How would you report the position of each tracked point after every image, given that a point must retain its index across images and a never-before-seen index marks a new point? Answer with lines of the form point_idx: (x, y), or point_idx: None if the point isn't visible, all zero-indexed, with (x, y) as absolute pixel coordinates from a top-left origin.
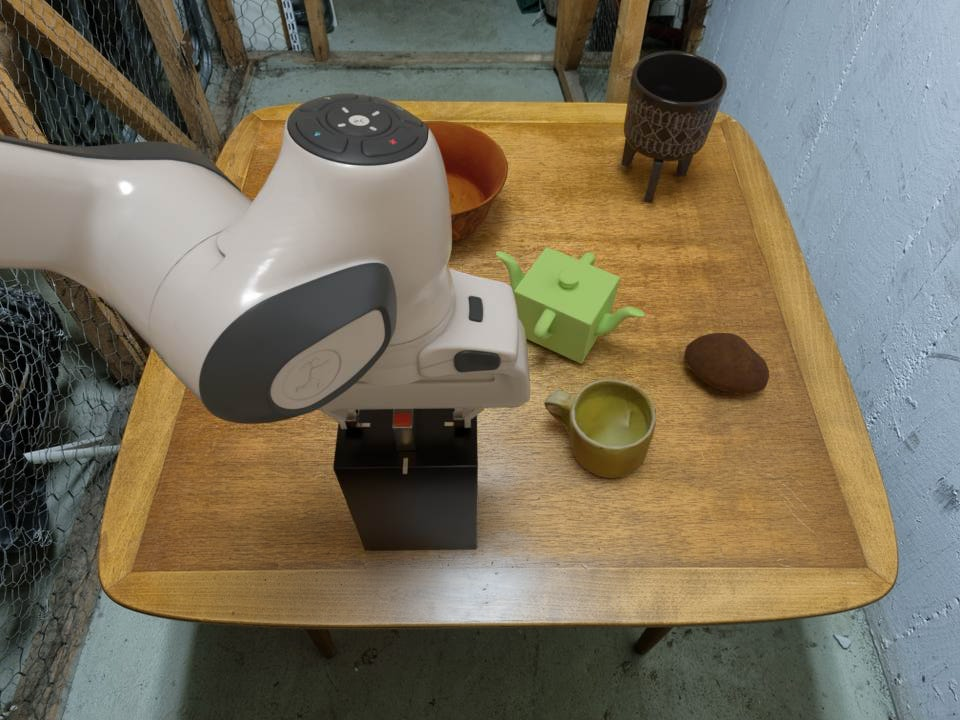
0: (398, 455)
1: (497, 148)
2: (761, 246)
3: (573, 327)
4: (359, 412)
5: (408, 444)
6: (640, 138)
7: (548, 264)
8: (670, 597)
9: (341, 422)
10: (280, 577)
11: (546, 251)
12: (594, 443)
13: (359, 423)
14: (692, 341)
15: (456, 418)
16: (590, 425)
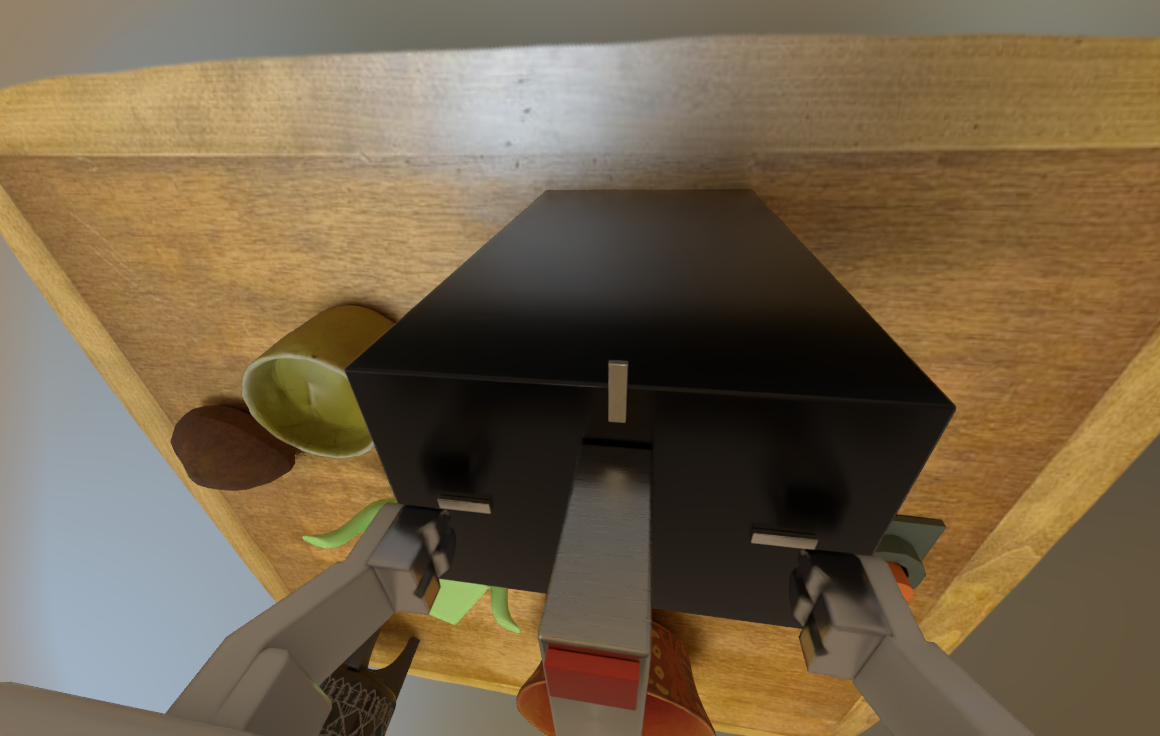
0: (647, 431)
1: (532, 720)
2: (260, 551)
3: None
4: (795, 604)
5: (597, 484)
6: (364, 705)
7: (448, 607)
8: (220, 98)
9: (904, 620)
10: (939, 132)
11: (453, 620)
12: (328, 365)
13: (799, 563)
14: (276, 478)
15: (397, 569)
16: None
